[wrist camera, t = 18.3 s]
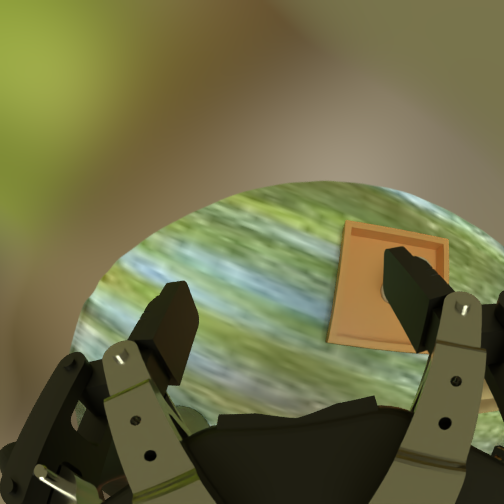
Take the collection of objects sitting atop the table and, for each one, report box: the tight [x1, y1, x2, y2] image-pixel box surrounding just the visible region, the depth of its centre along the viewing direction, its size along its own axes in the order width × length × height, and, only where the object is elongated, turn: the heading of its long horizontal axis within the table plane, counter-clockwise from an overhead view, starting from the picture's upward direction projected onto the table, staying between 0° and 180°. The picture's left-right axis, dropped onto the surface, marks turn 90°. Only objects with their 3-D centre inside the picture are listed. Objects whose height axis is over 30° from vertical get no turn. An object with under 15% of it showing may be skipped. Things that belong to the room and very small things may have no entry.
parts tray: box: [326, 220, 449, 354], centre depth 36 cm, size 18×18×4 cm
